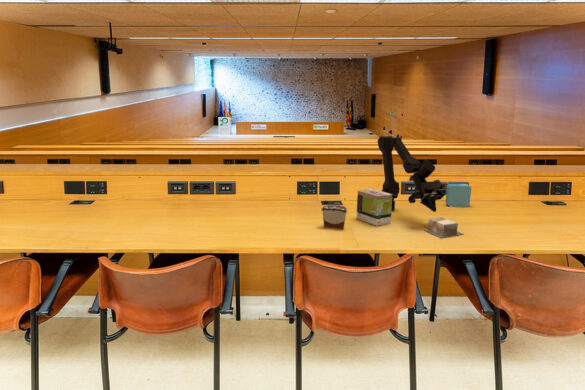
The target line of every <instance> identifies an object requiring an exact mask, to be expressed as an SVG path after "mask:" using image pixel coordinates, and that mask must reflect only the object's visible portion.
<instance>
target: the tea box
mask: <svg viewBox="0 0 585 390" xmlns="http://www.w3.org/2000/svg"><path fill="white" fill-rule="evenodd" d="M356 198H357V199H356V200H357V201H356V219H357V220H360V221H363V222H365V223H368V224H371V225H373V226H375V227H376V226H384V225H388V224H391V222H392V212H393V211H392V194H390V193H386V192H383V191H382V190H378V189H375V188H367V189H359V190H357V197H356Z"/></svg>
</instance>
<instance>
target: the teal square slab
mask: <svg viewBox="0 0 585 390" xmlns="http://www.w3.org/2000/svg"><path fill="white" fill-rule="evenodd" d="M446 193H447V194H446V195H445V204H446V205H447V206H448V207H450V206H452V208H453V207H457V208H461V207H462V208H468V207H469V206H470V204H471V196H472V186H471V185H469V184H468V183H448V184H447V185H446Z"/></svg>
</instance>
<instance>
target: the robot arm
mask: <svg viewBox="0 0 585 390" xmlns="http://www.w3.org/2000/svg"><path fill="white" fill-rule="evenodd" d="M377 145H378V149H379V151H380V152H381V154H382V164H383V173H384V182H383V184H382V190H381V191H383V192H386V193H390V194H392V211H391V212H394V210H395V209H396V200H395V199H397V198H398V197H399V193H400V190H401V189H400V182H399V181H396V179H395V172H394V170H395V169H394V160H393V151H394V150H395V152H397V154H398V155H399V158H400V160H401V161H402V167H403V170H404V171H405V173H406V174H412V175H410V176H409V178H408V179H409V180H408V181H409V182H413V184H414V187H415V191H416V192H412V193H411V195H409V197H408V202H409V204H415V203H416V201H417V200H419V199H420V202H419V204H422V205H423V206H425V207H426V208H428V209H429V210H430V211H432V212H433V213H436V212H437V204H436V203H437V202H436V201H440V200H442V199H443V198H444V197H446V194H447V193H446V192H447V190H446V189H444V188H442V189H439V188H440V187H441V186H442V182H441V181H440V179H435V180H434V181H427V178H429V177H430V176H431V175H432V174H433V173H434V171H436V167H435V164H433V163H432V162H430V161H429V160H428V159H425V160H423V161H422V163H421V162H420V161H419V160H418V158H416V157H414V156H413V155H411V153H410V151H409V150H408V148H407V147H406V145H405V144H404V142H403V140H402V138H401V137H399V136H392V135H381V136H379V137H378V139H377ZM435 189H437V190H435Z"/></svg>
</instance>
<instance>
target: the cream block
mask: <svg viewBox="0 0 585 390" xmlns="http://www.w3.org/2000/svg"><path fill="white" fill-rule="evenodd" d="M458 225H459V224H458V222H455V221H453V220H450V219H447V218H445V217H443V216H439V217H438V216H437V217H432V218H431V217H430V218H428V225H427V230H432V231H434V232H436V233H439V234H441V235H443V236H448V235H454V234H457V231H458Z"/></svg>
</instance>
